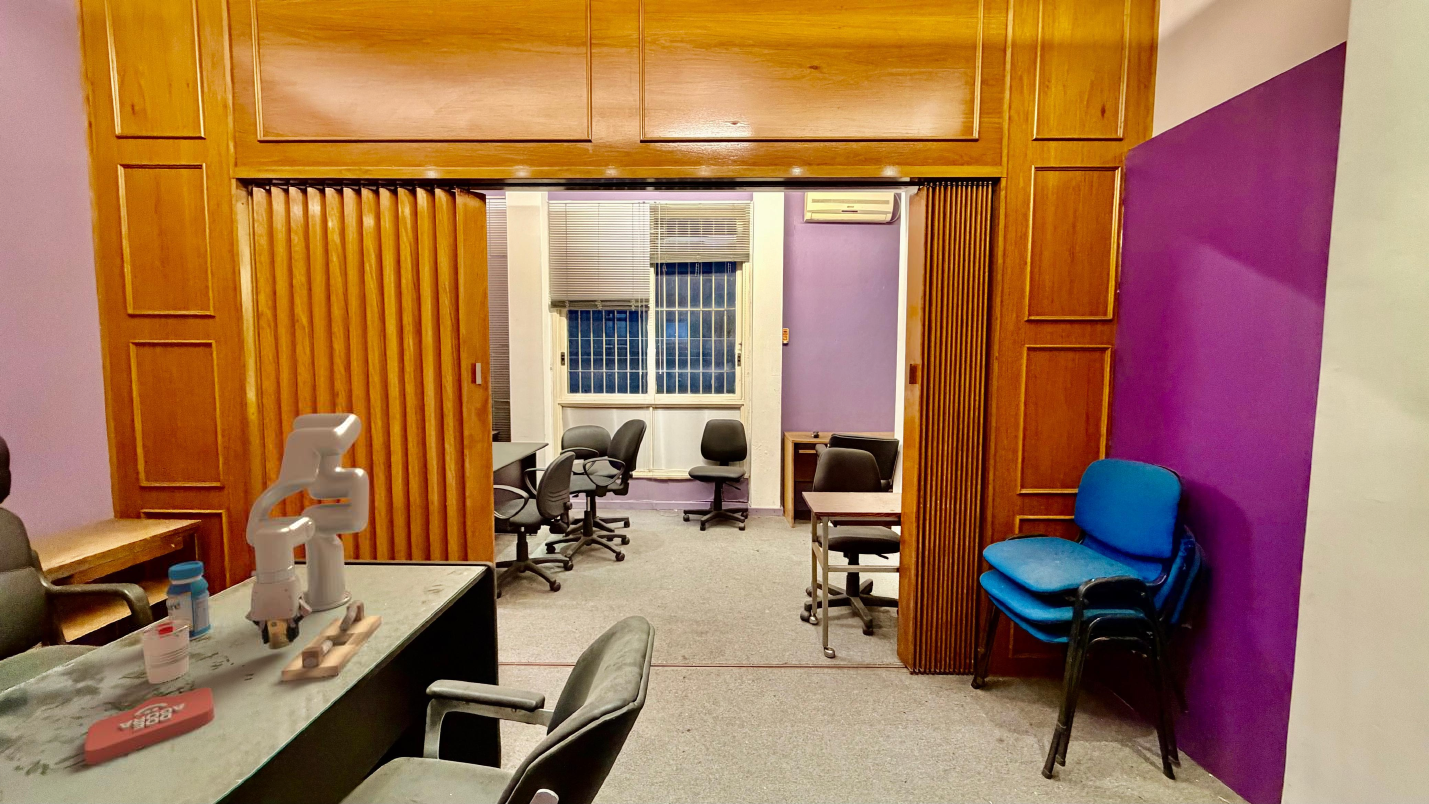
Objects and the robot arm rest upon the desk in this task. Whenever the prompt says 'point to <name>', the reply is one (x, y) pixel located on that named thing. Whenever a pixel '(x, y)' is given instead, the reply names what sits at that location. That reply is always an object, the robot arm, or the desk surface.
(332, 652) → the shaft jig
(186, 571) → the blue supplement bottle
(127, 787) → the desk surface
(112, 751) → the plaque
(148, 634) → the striped cup with float
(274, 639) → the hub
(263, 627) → the robot arm
